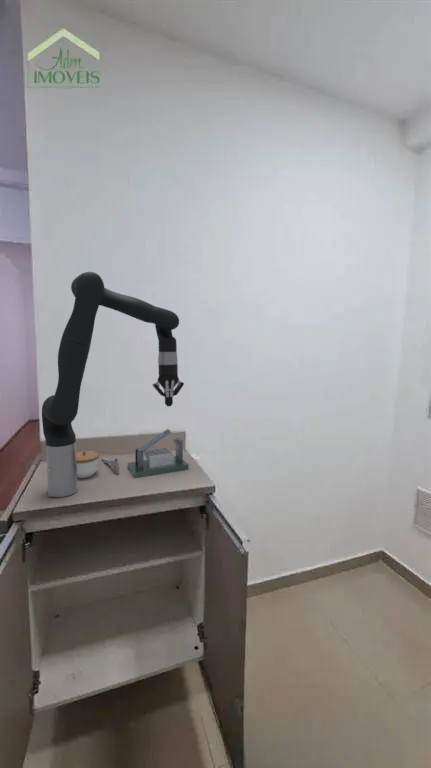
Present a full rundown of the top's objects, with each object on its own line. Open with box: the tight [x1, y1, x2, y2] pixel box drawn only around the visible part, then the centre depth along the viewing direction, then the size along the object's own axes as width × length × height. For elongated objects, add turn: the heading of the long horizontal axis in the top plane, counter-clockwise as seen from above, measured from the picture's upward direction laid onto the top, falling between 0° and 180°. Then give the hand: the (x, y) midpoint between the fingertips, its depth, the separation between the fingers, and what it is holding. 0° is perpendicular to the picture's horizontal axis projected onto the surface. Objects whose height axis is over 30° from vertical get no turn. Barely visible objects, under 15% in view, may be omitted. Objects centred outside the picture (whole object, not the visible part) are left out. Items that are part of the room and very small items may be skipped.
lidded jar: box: [76, 450, 100, 479], centre depth 134 cm, size 11×11×9 cm
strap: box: [138, 428, 172, 453], centre depth 140 cm, size 14×3×1 cm
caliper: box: [101, 457, 120, 475], centre depth 143 cm, size 20×1×6 cm, turn 34°
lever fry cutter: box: [127, 437, 189, 479], centre depth 141 cm, size 22×12×11 cm, turn 115°
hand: (168, 405), depth 141 cm, fingers closed
